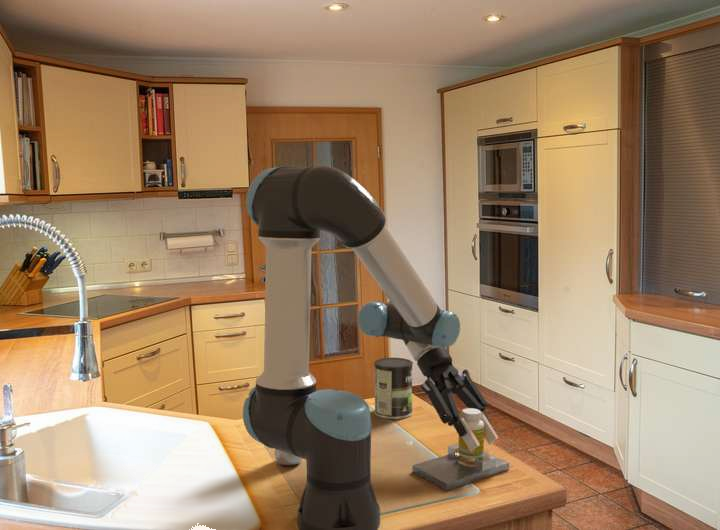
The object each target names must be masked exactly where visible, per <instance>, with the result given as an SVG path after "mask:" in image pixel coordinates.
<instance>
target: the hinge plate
mask: <svg viewBox="0 0 720 530" xmlns="http://www.w3.org/2000/svg"><path fill="white" fill-rule="evenodd" d="M458 448H459V442H457V443H453V444H451V445H448V446H447V454H445V455H441V456H439V457H435V458H432V459H429V460H428V459H427V460H426V461H423V462H419V463H415V464H412V467H411V468H412V469H411V470H412V471H411V472H412V473H413V472H414V473H413V474H415V473H416V475H417V474H418V475H417V476H419V475H420V476H419V477H421V476H422V477H421V478H423V477H424V478H425V479H424V478H423V479H424V480H426V479H428V480H429V481H428V480H427V481H428V482H430V481H432V482H433V483H432V482H431V483H432V484H434V483H435V484H436V485H435V484H434V485H435V486H437V485H438V487H439V486H440V487H439V488H441V487H442V488H441V489H443V488H444V489H443V490H445V491H446V490H448V491H451V490H453V489H455V488H459V487H462V486H465V485H467V484H466V483H468V482H469V483H468V484H471V483H473V482H476V481H480V480H483V479H485V478H489V477H491V476H494V475H497V474H501V473H503V472H506V471H508V470H510V462H509V461H506V460H505V459H502V458H500V457H498V456H495V455H493V454H491V453H488V452H487V451H484V452H483V456H482V457H480V458H465V457H462V456H461V455H460V454H459V450H458ZM464 484H465V485H464Z"/></svg>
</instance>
